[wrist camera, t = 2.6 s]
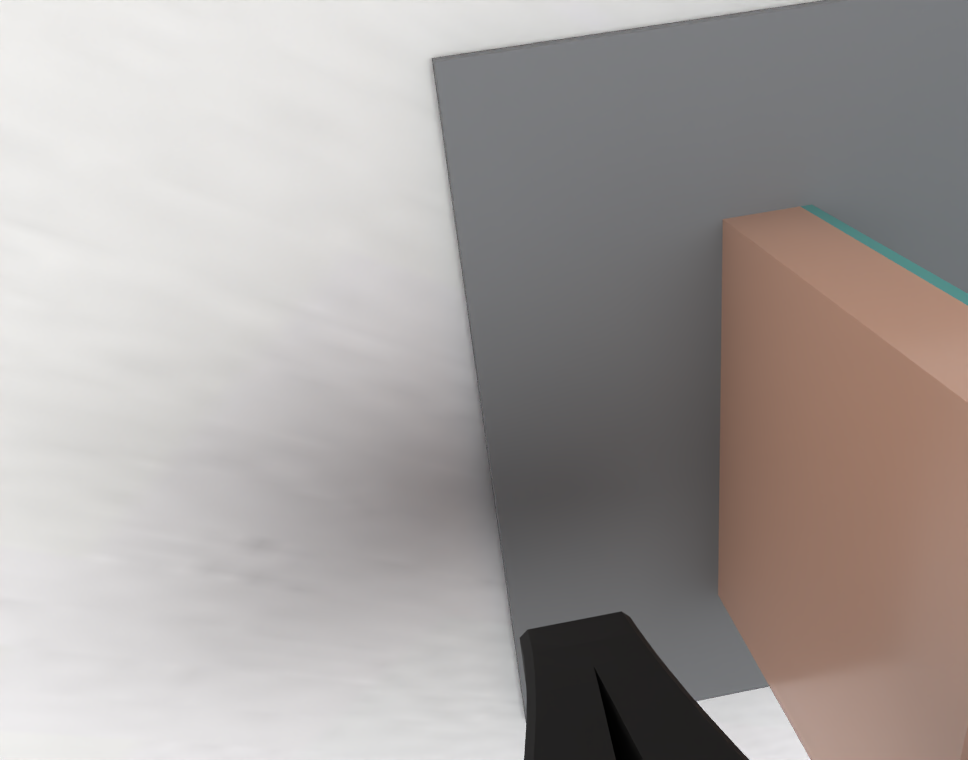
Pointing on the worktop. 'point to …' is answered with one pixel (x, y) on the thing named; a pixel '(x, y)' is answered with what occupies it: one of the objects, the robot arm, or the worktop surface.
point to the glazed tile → (846, 484)
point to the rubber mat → (669, 272)
